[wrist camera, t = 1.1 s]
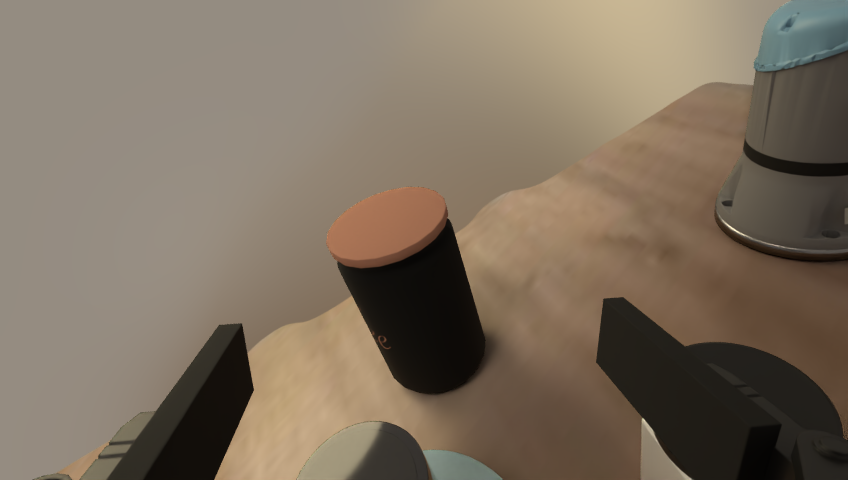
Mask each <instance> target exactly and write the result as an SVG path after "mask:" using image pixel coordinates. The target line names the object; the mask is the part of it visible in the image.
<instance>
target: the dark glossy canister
mask: <svg viewBox="0 0 848 480" xmlns="http://www.w3.org/2000/svg"><path fill="white" fill-rule="evenodd" d="M296 480H438V479H437V477H436V476H435V474H434V472H433V470H432V468H431V466H430V464H429V462H428V461H427V459H426V457H425V455H424V453H423V451H422V449H421V447H420V446H419V444H418V443H417V441H416V440H415V439H414V438H413V437H412V436H411V435H410V434H409V433H408V432H407V431H405V430H404V429H402V428H401V427H399V426H397V425H394V424H391V423H387V422H382V421H370V422H363V423H358V424H355V425H352V426H349V427H347V428H345V429H343V430H341V431H339V432H338V433H336V434H334V435H333V436H332V437H330V438H329V439H328V440H326V441H325V442H324V443H323V444H322V445H321V446H320V447H319V448H318V449H317V450H316V451H315V452H314V453H313V454H312V455H311V457H310V458H309V459H308V461H307V462H306V463H305V465H304V467H303V468H302V470H301V471H300V473H299V475H298V477H297V479H296Z"/></svg>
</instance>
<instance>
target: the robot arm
mask: <svg viewBox="0 0 848 480" xmlns="http://www.w3.org/2000/svg"><path fill="white" fill-rule="evenodd" d="M754 68H755V70H756V73H755V79H754V86H753V92H752V99H751V105H750V111H749V117H748V122H747V128H746V134H745V141H744V147H743V152H742V155H741V156H740V158H739V160H738V161H737V163H736V165H735V166H734V168H733V170H732V171H731V173H730V175H729V176H728V178H727V180H726V181H725V183H724V185H723V186H722V188H721V190H720V192H719V194H718V197H717V200H716V205H715V219H716V222H717V224H718V225H719V227H720V228H721V229H722V230H723V231H724V232H725V233H726V234H727V235H728V236H730V237H731V238H733V239H734V240H736V241H738V242H739V243H741V244H743V245H745V246H748V247H750V248H753V249H755V250H758V251H761V252H764V253H768V254H772V255H776V256H780V257H786V258H792V259H800V260H816V261H829V260H842V259H848V0H791V1H789V2H788V3H786V4H784V5H783V6H781V7H780V8H779V9H778V10H777V11H776V12H774V13H773V14H772V16H771V17H770V18H769V19H768V21H767V23H766V25H765V27H764V30H763V35H762V40H761V45H760V49H759V53H758V56H757V58H756V59H755V61H754ZM596 363H597V364H598V365H599V366H600V367H601V369H602V370H603V371H604V372H605V373H606V375H607V376H608V377H609V378H610V379H611V380H612V382H613V383H614V384H615V385H616V386H617V388H618V389H619V390H620V391H621V392H622V394H623V395H624V396H625V397H626V398H627V400H628V401H629V402H630V403H631V404H632V406H633V407H634V408H635V409H636V410H637V412H638V413H639V414H640V415H641V416H642V418H643V419H644V420H645V421H646V422H647V424H648V425H649V426H650V427H651V428H652V430H653V431H654V432H655V433H656V434H657V436H658V437H659V438H660V439H661V440H662V442H663V443H664V444H665V445H666V446H667V448H668V449H669V450H670V451H671V452H672V454H673V455H674V456H675V457H676V458H677V460H678V461H679V462H680V463H681V464H682V466H683V467H684V468H685V469H686V470H687V472H688V473H689V474H690V475H691V476H692V477H693V479H694V480H848V440H846V439H844V438H842V437H839V436H837V435H834V434H831V433H829V432H824V431H819V430H806V429H805V428H803V427H802V426H801V425H799V424H798V423H797V422H795V421H794V420H793V419H792V418H790V417H789V416H788V415H786V414H785V413H784V412H782V411H781V410H780V409H778V408H777V407H776V406H775V405H773V404H772V403H771V402H769V401H768V400H767V399H765V398H764V397H760V394H759V393H758V392H756V391H755V390H754V389H752V388H751V387H748V386H747V384H746V383H745V382H743V381H742V380H741V379H739V378H738V377H737V376H735V375H734V374H733V373H731V372H729V371H727V370H725V369H723V368H721V367H719V366H717V365H715V364H713V363H710V364H706V363H705V362H704V361H702V360H701V359H700V358H699V357H697V356H696V355H695V354H694V353H692V352H691V351H690V350H689V349H687V348H686V347H685V346H684V345H682V344H681V343H680V342H678V341H677V340H676V339H675V338H673V337H672V336H671V335H670V334H668V333H667V332H666V331H665V330H663V329H662V328H661V327H660V326H658V325H657V324H656V323H655V322H653V321H652V320H651V319H650V318H648V317H647V316H646V315H645V314H643V313H642V312H641V311H640V310H638V309H637V308H636V307H635V306H633V305H632V304H631V303H630V302H628V301H627V300H626V299H625V298H623V297H621V298H606V299H603V308H602V316H601V325H600V334H599V342H598V351H597V359H596ZM253 391H254V388H253V383H252V377H251V371H250V366H249V360H248V354H247V349H246V343H245V338H244V332H243V327H242V324H227V325H219V326H218V327H217V329H216V330H215V331H214V333H213V334H212V336H211V337H210V338H209V340H208V341H207V342H206V344H205V345H204V347H203V348H202V349H201V351H200V352H199V353H198V355H197V356H196V357H195V359H194V360H193V362H192V363H191V364H190V366H189V367H188V368H187V370H186V371H185V372H184V374H183V375H182V377H181V378H180V379H179V381H178V382H177V383H176V385H175V386H174V387H173V389H172V390H171V392H170V393H169V394H168V396H167V397H166V399H165V400H164V401H163V403H162V404H161V405H160V407H159V408H158V409H157V411H154V412H142V413H139V414H138V415H137V416H135V417H134V418H133V419H132V420H130V421H129V422H127V423H126V424H125V425H124V426H122V427H121V428H120V430H119V431H118V432H117V433H116V435H115V436H114V437H113V438H112V440H111V441H110V442H109V446H106V447H105V448H104V450H103V451H102V452H101V453H100V455H99V457H98V459H96V460H95V461H94V462H93V463H92V465H91V466H90V467H89V468H88V470H87V471H86V472H85V473H84V475H83V476H82V477H81V478H80V480H214V479H215V476H216V474H217V472H218V470H219V467H220V465H221V463H222V461H223V458H224V456H225V454H226V452H227V449H228V447H229V445H230V443H231V440H232V438H233V436H234V434H235V431H236V429H237V427H238V425H239V422H240V420H241V418H242V416H243V413H244V411H245V409H246V407H247V404H248V402H249V400H250V398H251V395H252V393H253ZM33 480H72V479H71V478H70V476H69V475H65V474H59V473H57V474H51V475H46V476H41V477H39V478H36V479H33Z"/></svg>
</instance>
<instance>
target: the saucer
mask: <svg viewBox="0 0 848 480" xmlns="http://www.w3.org/2000/svg"><path fill="white" fill-rule="evenodd" d="M423 453H424V455H425V457H426V459H427V461H428V462H429V464H430V466H431V468H432V470H433V472H434V474H435V476H436V477H437V479H438V480H503V479H502V478H501V477H500V476H499V475H498V474H497V473H495V472H494V471H493V470H492V469H490V468H489V467H487V466H486V465H484V464H483V463H481V462H479V461H477V460H475V459H473V458H471V457H469V456H466V455H463V454H460V453H456V452H451V451H446V450H423Z"/></svg>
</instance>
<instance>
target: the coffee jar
mask: <svg viewBox="0 0 848 480" xmlns="http://www.w3.org/2000/svg"><path fill="white" fill-rule="evenodd" d="M447 217H448V211H447V207H446V203H445V200H444V198H443V197H442V196H441V195H439V194H438V193H437V192H436V191H434V190H430V189H427V188H423V187H405V188H398V189H392V190H389V191H385V192H382V193H379V194H376V195H373V196H371V197H369V198H367V199H365V200H363V201H360V202H359V203H357V204H356V205H354V206H352V207H351V208H349V209H348V210H346V211H345V212H344V213H343V214H342V215H341V216H340V217H339V218H338V219H337V220H336V221H335V222H334V223H333V225H332V226H331V228H330V230H329V231H328V235H327V241H326V244H327V246H328V248H329V251H330V253H331V254H332V256H333V257H334V259H335V260H337V261H338V263H337V264H338V268H339V270H340V272H341V275H342V276H343V279H344V281H345V283H346V285H347V287H348V289H349V290H350V292H351V294H352V296H353V298H354V300H355V302H356V304H357V306H358V308H359V310H360V312H361V314H362V316H363V318H364V320H365V322H366V324H367V326H368V328H369V330H370V332H371V334H372V336H373V338H374V340H375V342H376V344H377V345H378V347H379V349H380V351H381V353H382V355H383V357H384V359H385V361H386V363H387V365H388V367H389V369H390V371H391V373H392V375H393V377H394V379H396V380H397V381H398V382H399V383H400V384H401V385H403V386H404V387H405V388H408V389H411V390H413V391H416V392H419V393H441V392H445V391H449V390H452V389H454V388H456V387H457V386H459V385H461V384H463V383H464V382H466V380H467V379H468V378H469V377H470V376H471V375H472V374H473V373H474V372H475V371H476V370H477V368H478V366H479V364H480V362H481V360H482V358H483V356H484V351H485V341H486V340H485V337H484V333H483V330H482V326H481V323H480V320H479V316H478V313H477V309H476V306H475V302H474V299H473V295H472V292H471V289H470V285H469V282H468V278H467V275H466V271H465V268H464V264H463V261H462V258H461V254H460V251H459V247H458V244H457V240H456V237H455V233H454V230H453V227H452V224H451V222H450V220H449V219H448V218H447Z"/></svg>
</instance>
